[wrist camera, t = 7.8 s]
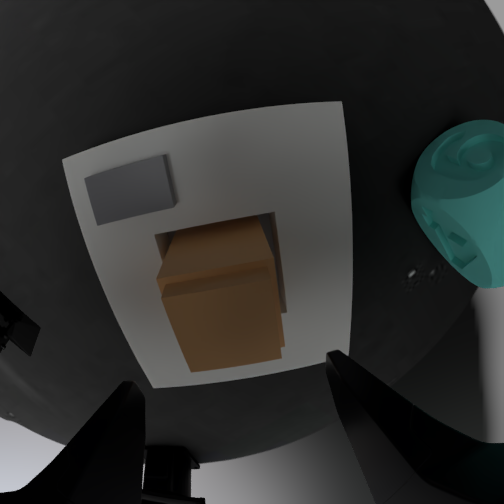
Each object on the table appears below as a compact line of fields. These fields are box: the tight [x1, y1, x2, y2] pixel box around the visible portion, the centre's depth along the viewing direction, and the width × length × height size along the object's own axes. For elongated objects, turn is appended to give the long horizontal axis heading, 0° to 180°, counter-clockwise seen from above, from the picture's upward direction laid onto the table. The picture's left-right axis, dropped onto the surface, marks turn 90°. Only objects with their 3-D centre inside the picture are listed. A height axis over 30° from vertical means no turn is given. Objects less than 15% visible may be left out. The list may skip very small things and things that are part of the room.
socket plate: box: [62, 101, 353, 388], centre depth 16 cm, size 16×14×4 cm
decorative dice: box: [411, 120, 504, 288], centre depth 14 cm, size 8×8×8 cm
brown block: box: [156, 215, 285, 373], centre depth 14 cm, size 5×5×7 cm
